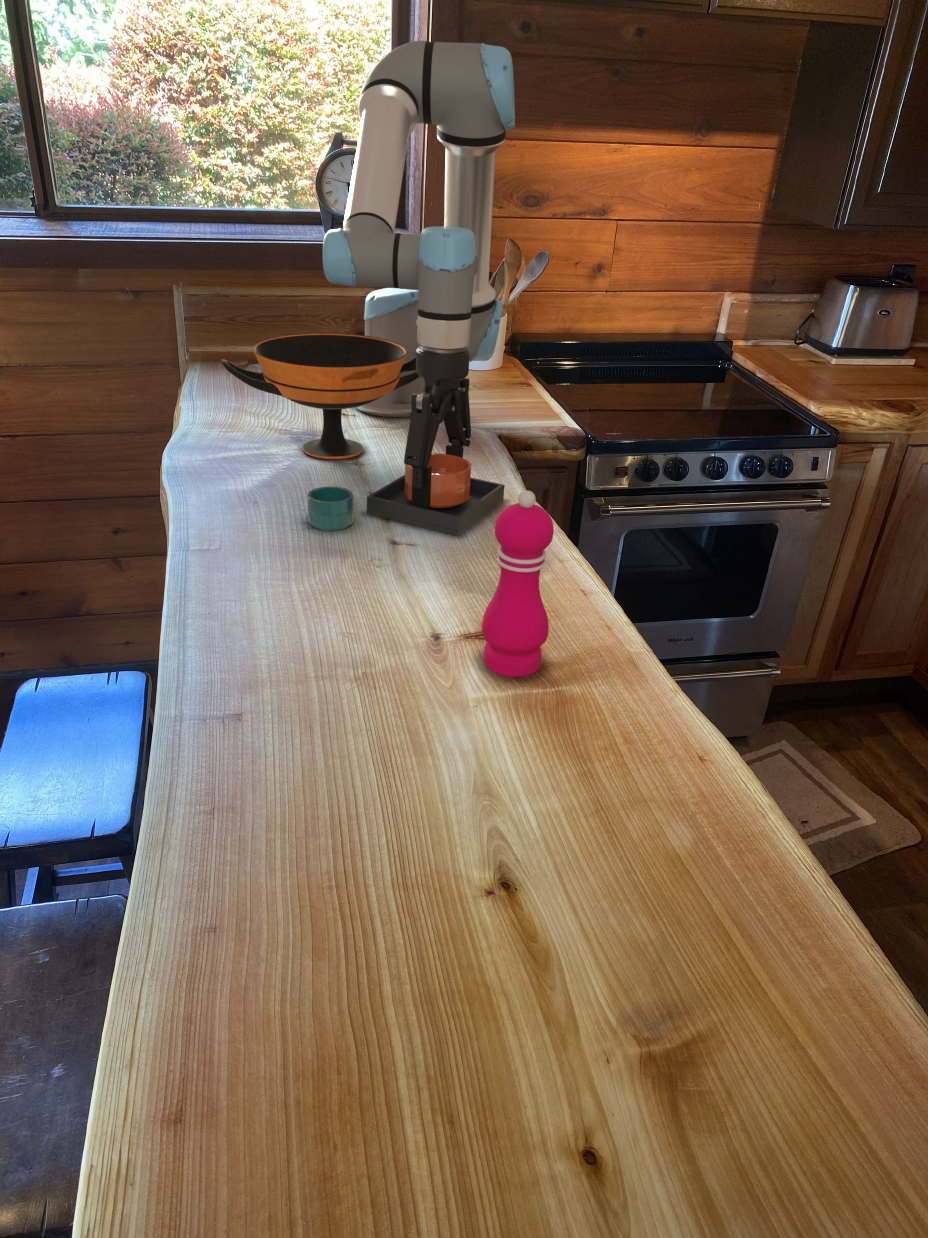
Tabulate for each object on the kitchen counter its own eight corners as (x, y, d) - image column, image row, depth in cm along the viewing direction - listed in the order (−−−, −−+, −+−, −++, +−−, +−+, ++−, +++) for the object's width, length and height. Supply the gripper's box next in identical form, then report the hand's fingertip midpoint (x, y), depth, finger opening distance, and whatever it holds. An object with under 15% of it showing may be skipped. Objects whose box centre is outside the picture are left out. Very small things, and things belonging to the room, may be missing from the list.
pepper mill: (499, 686, 95) (514, 508, 85) (467, 653, 100) (478, 483, 91) (557, 672, 98) (578, 499, 88) (523, 640, 103) (539, 475, 94)
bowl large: (424, 482, 143) (425, 449, 140) (479, 495, 139) (482, 460, 137) (393, 501, 135) (393, 466, 132) (451, 515, 131) (453, 479, 129)
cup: (241, 482, 143) (233, 370, 134) (218, 434, 163) (210, 335, 155) (453, 465, 155) (458, 362, 147) (407, 423, 176) (409, 330, 167)
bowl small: (324, 512, 134) (324, 483, 132) (361, 521, 132) (361, 492, 130) (299, 526, 129) (298, 496, 127) (337, 535, 127) (337, 505, 124)
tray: (418, 482, 147) (418, 466, 146) (503, 501, 142) (504, 484, 140) (366, 514, 134) (366, 496, 133) (457, 536, 129) (458, 518, 127)
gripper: (454, 331, 137) (448, 471, 147) (379, 357, 119) (378, 515, 129) (500, 337, 134) (490, 480, 145) (429, 366, 116) (424, 526, 127)
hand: (437, 496), depth 137 cm, fingers closed on bowl large, 10 cm apart
